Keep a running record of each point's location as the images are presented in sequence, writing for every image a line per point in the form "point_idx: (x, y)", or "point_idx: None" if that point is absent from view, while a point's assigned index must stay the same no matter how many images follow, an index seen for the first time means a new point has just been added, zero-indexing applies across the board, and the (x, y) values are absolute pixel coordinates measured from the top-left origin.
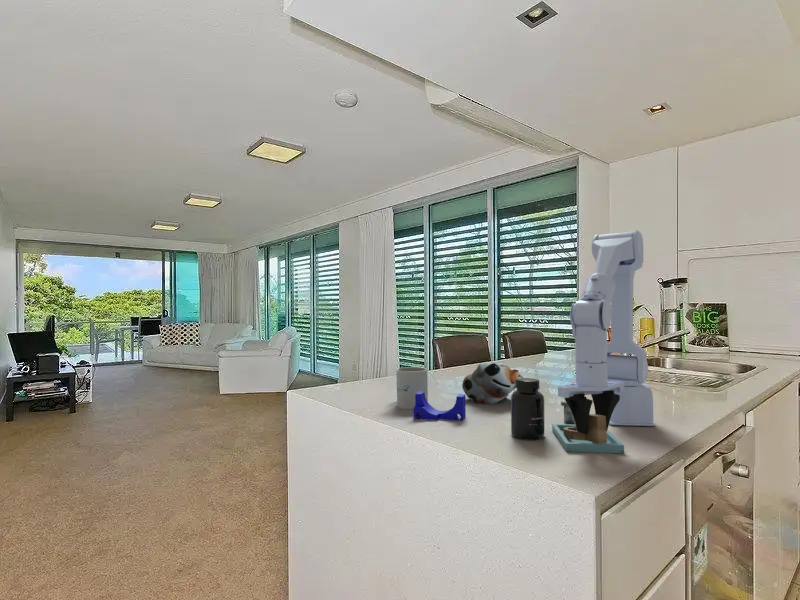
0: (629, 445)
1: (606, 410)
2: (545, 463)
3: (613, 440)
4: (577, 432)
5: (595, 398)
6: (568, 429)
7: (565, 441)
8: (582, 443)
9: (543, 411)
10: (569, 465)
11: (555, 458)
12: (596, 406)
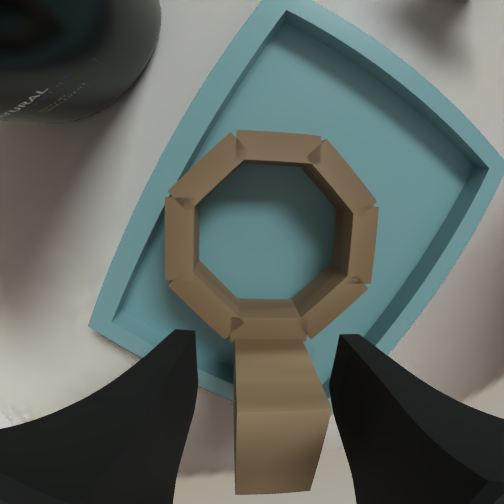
0: (416, 351)
1: (360, 493)
2: (5, 349)
3: None
4: (193, 305)
5: (433, 490)
6: (191, 217)
7: (101, 304)
8: None
9: (23, 72)
10: (58, 393)
11: (40, 338)
12: (398, 438)
